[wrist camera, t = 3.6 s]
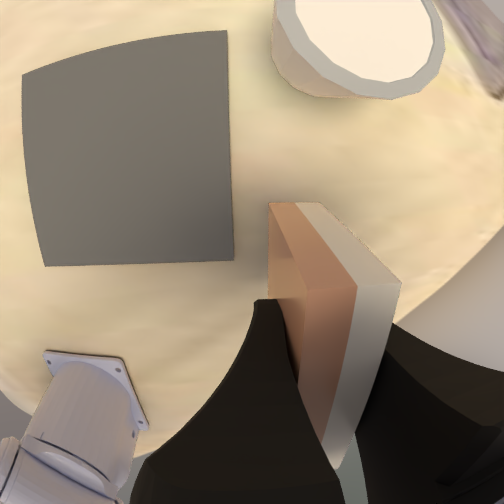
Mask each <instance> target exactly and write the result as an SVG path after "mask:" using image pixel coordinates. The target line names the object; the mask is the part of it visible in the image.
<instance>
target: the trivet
mask: <svg viewBox="0 0 504 504" xmlns="http://www.w3.org/2000/svg"><path fill="white" fill-rule="evenodd" d="M22 132H23V147H24V158H25V167H26V176H27V183H28V190H29V196H30V202H31V208H32V213H33V219H34V224H35V228H36V233H37V237H38V242H39V246H40V250H41V254H42V258H43V262H44V265H45V267H47V266H84V265H117V264H148V263H177V262H205V261H232V260H234V248H233V225H232V201H231V173H230V143H229V106H228V55H227V30H222V31H206V32H194V33H184V34H176V35H168V36H161V37H154V38H148V39H143V40H137V41H132V42H127V43H122V44H118V45H113V46H109V47H105V48H101V49H97V50H94V51H90V52H86V53H83V54H79V55H76V56H73V57H70V58H67V59H63V60H60V61H57V62H55V63H52V64H49V65H46V66H43V67H41V68H38V69H36V70H33V71H31V72H28V73H26V74H23V75H22Z"/></svg>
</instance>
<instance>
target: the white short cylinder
mask: <svg viewBox="0 0 504 504" xmlns="http://www.w3.org/2000/svg"><path fill="white" fill-rule="evenodd" d="M444 52H445V42H444V34H443V26H442V21H441V19H440V16H439V14H438V12H437V10H436V8H435V6H434V4H433V2H432V0H274V12H273V23H272V35H271V57H272V59H273V61H274V64H275V66H276V68H277V70H278V72H279V74H280V75H281V76H282V77H283V78H284V79H285V80H286V81H287V82H288V83H289V84H290V85H291V86H292V87H293V88H295V89H297V90H300V91H302V92H304V93H306V94H308V95H311V96H316V97H329V98H369V99H387V100H393V99H396V98H400V97H403V96H407V95H411V94H415V93H418V92H420V91H421V90H422V89H423V88H424V87H425V86H426V85H427V84H428V83H429V82H430V81H431V80H432V79H433V78H434V77H435V76H437V75H438V72H439V69H440V65H441V62H442V59H443V56H444Z"/></svg>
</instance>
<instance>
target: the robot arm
mask: <svg viewBox="0 0 504 504" xmlns="http://www.w3.org/2000/svg"><path fill="white" fill-rule="evenodd" d="M43 358H44V360H45V362H46V364H47V366H48V368H49V370H50V372H51V374H52V376H53V379H52V381H51V383H50V385H49V387H48V388H47V390H46V392H45V394H44V396H43V398H42V400H41V402H40V403H39V405H38V407H37V409H36V411H35V413H34V415H33V417H32V419H31V421H30V423H29V426H28V427H27V430H26V432H25V434H24V436H23V438H22V439H21V440H20V441H18V440H17V439H16V438H15V437H10V438H3V439H2V441H1V442H0V504H124V503H123V502H122V501H121V499H119V498H117V491H118V489H120V488H121V487H122V486H123V485H124V484H125V483H126V481H127V479H128V477H129V473H130V469H131V463H132V459H133V454H134V450H135V445H136V441H137V437H138V432H139V430H144V431H146V430H148V429H149V425H148V422H147V420H146V418H145V416H144V413H143V411H142V409H141V407H140V404H139V402H138V399H137V397H136V395H135V392H134V390H133V387H132V385H131V382H130V379H129V377H128V374H127V371H126V369H125V366H124V363H123V361H122V360H120V359H118V358H109V357H97V356H86V355H76V354H67V353H59V352H51V351H44V353H43ZM118 368H119V369H118ZM355 436H356V440H357V444H358V448H359V453H360V457H361V462H362V467H363V472H364V478H365V484H366V490H367V497H368V504H504V372H501V371H497V370H493V369H490V368H486V367H483V366H480V365H476V364H474V363H471V362H468V361H465V360H463V359H460V358H457V357H455V356H452V355H450V354H448V353H446V352H443V351H442V350H440V349H437V348H435V347H433V346H431V345H429V344H427V343H425V342H424V341H422V340H420V339H418V338H416V337H415V336H413V335H411V334H410V333H408V332H406V331H405V330H403V329H402V328H400V327H398V326H397V325H395V324H394V323H392V325H391V329H390V332H389V336H388V339H387V343H386V346H385V350H384V353H383V356H382V359H381V362H380V366H379V369H378V372H377V375H376V378H375V381H374V383H373V386H372V389H371V392H370V395H369V397H368V400H367V403H366V405H365V408H364V411H363V413H362V416H361V418H360V421H359V423H358V426H357V428H356V430H355ZM130 504H345V500H344V496H343V492H342V488H341V485H340V481H339V478H338V477H337V475H336V473H335V471H334V469H333V467H332V465H331V464H330V462H329V460H328V458H327V456H326V454H325V451H324V449H323V447H322V445H321V443H320V441H319V439H318V437H317V435H316V433H315V430H314V428H313V426H312V423H311V421H310V418H309V416H308V413H307V411H306V408H305V406H304V404H303V401H302V398H301V395H300V392H299V389H298V387H297V384H296V381H295V378H294V375H293V371H292V368H291V365H290V362H289V358H288V353H287V348H286V339H285V331H284V323H283V315H282V310H281V308H280V305H279V303H278V301H277V299H259V300H256V301H255V302H254V312H253V317H252V320H251V324H250V327H249V329H248V332H247V335H246V338H245V340H244V342H243V344H242V346H241V348H240V350H239V353H238V355H237V357H236V359H235V360H234V362H233V364H232V366H231V367H230V369H229V371H228V372H227V374H226V375H225V377H224V379H223V380H222V382H221V383H220V384H219V386H218V387H217V388H216V390H215V391H214V392H213V394H212V395H211V397H210V398H209V399H208V400H207V402H206V403H205V404H204V405H203V406H202V407H201V409H200V410H199V411H198V412H197V413H196V414H195V415H194V416H193V417H192V418H191V419H190V420H189V421H188V422H187V423H186V424H185V425H184V426H183V428H182V429H181V430H179V431H178V432H177V433H176V434H175V435H174V436H173V437H172V438H171V439H169V440H168V441H167V442H166V443H165V444H163V445H162V446H161V447H160V448H159V449H157V450H156V451H155V452H154V453H153V454H151V455H150V456H149V457H147V458H146V459H145V461H144V463H143V465H142V467H141V469H140V471H139V474H138V476H137V479H136V481H135V484H134V487H133V490H132V493H131V497H130Z"/></svg>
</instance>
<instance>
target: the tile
mask: <svg viewBox="0 0 504 504" xmlns="http://www.w3.org/2000/svg"><path fill="white" fill-rule="evenodd" d="M401 284H402V282H401V281H400V280H399V279H398V278H397V277H396V276H395V275H394V274H393V273H392V272H391V271H390V270H389V269H388V268H387V267H386V266H385V265H384V264H383V263H382V262H381V261H380V260H379V259H378V258H377V257H376V256H375V255H374V254H373V253H372V252H371V251H370V250H369V249H368V248H367V247H366V246H365V245H364V244H363V243H362V242H361V241H360V240H359V239H358V238H357V237H356V236H355V235H354V234H353V233H352V232H351V231H350V230H349V229H347V228H346V227H345V226H344V225H343V224H342V223H341V222H340V221H339V220H338V219H337V218H336V217H335V216H334V215H333V214H331V213H330V212H329V211H328V210H327V209H326V208H325V207H324V206H323V205H322V204H320V203H319V202H290V203H269V222H268V299H277V301H278V303H279V305H280V308H281V310H282V315H283V323H284V331H285V339H286V348H287V353H288V358H289V362H290V365H291V368H292V371H293V375H294V378H295V381H296V384H297V387H298V389H299V392H300V395H301V398H302V401H303V404H304V406H305V408H306V411H307V413H308V416H309V418H310V421H311V423H312V426H313V428H314V430H315V433H316V435H317V437H318V439H319V441H320V443H321V445H322V447H323V449H324V451H325V454H326V456H327V458H328V460H329V462H330V464H331V465H332V467H333V469H337V468H339V466H340V464H341V462H342V460H343V458H344V455H345V453H346V451H347V449H348V447H349V444H350V442H351V440H352V437H353V435H354V433H355V430H356V428H357V426H358V423H359V421H360V418H361V416H362V413H363V411H364V408H365V405H366V403H367V400H368V397H369V395H370V392H371V389H372V386H373V383H374V381H375V378H376V375H377V372H378V369H379V366H380V362H381V359H382V356H383V353H384V350H385V346H386V343H387V339H388V336H389V332H390V329H391V325H392V321H393V317H394V314H395V310H396V306H397V301H398V297H399V293H400V288H401Z"/></svg>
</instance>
